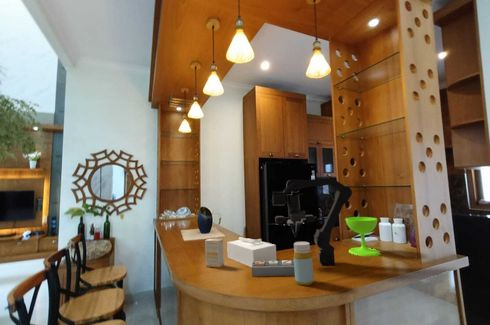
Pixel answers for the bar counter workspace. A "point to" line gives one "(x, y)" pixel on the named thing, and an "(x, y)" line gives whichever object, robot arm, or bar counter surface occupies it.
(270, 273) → the keypad
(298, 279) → the bottle
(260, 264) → the key terracotta
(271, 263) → the key sage
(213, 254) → the supplement box
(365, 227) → the wineglass
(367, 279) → the bar counter surface
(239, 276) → the bar counter surface
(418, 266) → the bar counter surface
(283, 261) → the key cream
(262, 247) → the tissue box
